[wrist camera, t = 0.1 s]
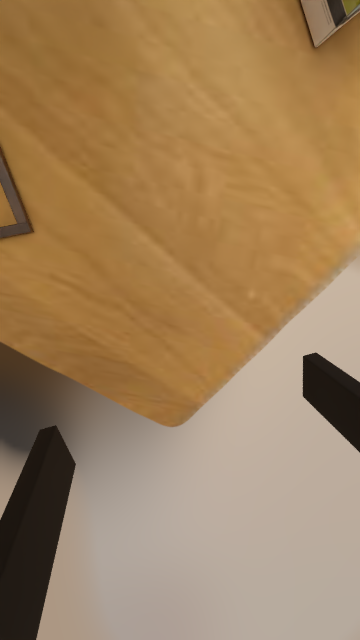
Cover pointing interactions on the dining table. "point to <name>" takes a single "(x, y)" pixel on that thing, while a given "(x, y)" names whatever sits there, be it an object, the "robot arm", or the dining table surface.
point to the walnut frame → (13, 203)
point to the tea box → (328, 16)
